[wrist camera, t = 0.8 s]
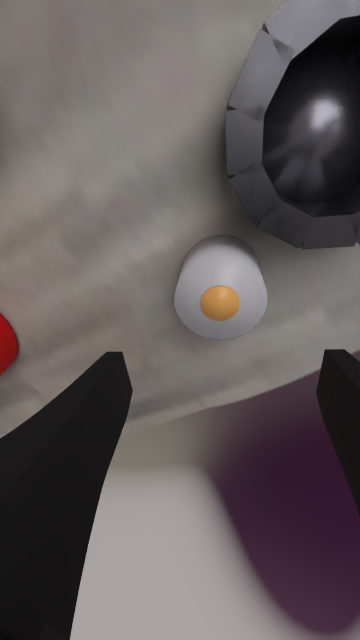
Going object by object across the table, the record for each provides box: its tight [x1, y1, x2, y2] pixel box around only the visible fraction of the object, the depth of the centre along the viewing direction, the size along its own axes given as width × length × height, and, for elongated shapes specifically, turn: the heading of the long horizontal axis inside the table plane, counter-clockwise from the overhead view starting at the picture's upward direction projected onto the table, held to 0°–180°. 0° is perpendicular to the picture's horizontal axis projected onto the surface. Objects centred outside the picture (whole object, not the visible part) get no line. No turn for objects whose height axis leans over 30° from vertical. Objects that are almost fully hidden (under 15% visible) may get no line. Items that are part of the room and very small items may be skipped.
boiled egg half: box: [174, 235, 267, 340], centre depth 16 cm, size 5×5×4 cm
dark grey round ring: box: [225, 0, 360, 249], centre depth 12 cm, size 9×9×4 cm
